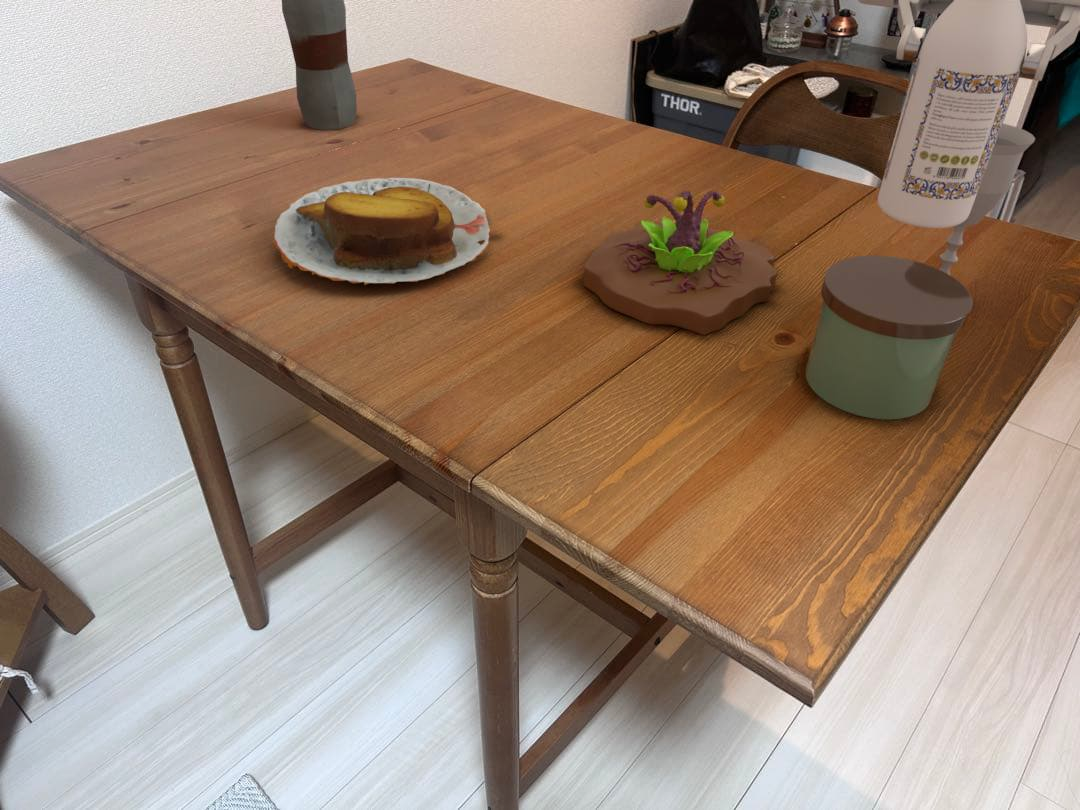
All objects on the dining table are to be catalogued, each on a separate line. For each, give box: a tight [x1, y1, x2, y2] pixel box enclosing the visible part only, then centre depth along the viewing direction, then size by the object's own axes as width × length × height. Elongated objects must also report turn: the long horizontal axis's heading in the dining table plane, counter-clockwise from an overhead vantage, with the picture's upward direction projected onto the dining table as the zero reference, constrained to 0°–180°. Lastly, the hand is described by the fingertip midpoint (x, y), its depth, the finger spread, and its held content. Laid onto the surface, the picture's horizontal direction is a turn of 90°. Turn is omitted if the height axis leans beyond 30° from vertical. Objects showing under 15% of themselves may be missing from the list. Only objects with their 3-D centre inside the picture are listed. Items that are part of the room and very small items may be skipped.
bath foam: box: [877, 0, 1028, 229], centre depth 59 cm, size 7×7×20 cm
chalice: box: [938, 123, 1036, 276], centre depth 83 cm, size 7×7×18 cm
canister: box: [804, 255, 974, 421], centre depth 73 cm, size 12×12×10 cm
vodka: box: [281, 0, 358, 131], centre depth 121 cm, size 9×9×30 cm
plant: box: [582, 190, 778, 336], centre depth 87 cm, size 20×20×11 cm
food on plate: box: [272, 176, 495, 286], centre depth 95 cm, size 25×25×7 cm
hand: (967, 65), depth 58 cm, fingers closed on bath foam, 7 cm apart
